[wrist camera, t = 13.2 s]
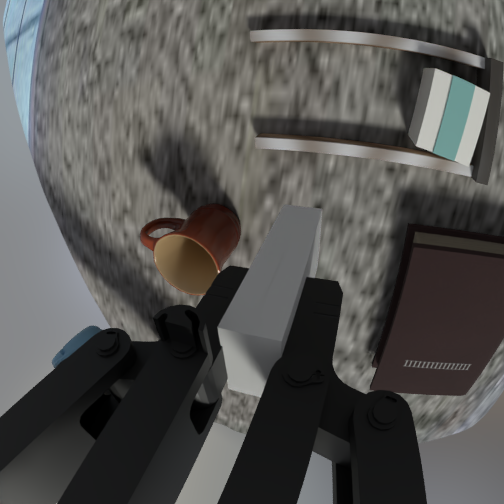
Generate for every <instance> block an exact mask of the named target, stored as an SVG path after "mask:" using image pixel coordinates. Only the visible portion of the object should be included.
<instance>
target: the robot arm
mask: <svg viewBox="0 0 504 504" xmlns="http://www.w3.org/2000/svg"><path fill="white" fill-rule="evenodd" d="M321 220H322V209H318V208H310V207H301V206H293V205H284V206H283V207H282V209H281V211H280V213H279V215H278V217H277V219H276V220H275V222H274V224H273V226H272V228H271V230H270V232H269V233H268V235H267V237H266V239H265V241H264V243H263V244H262V246H261V248H260V250H259V252H258V254H257V256H256V257H255V259H254V261H253V263H252V265H251V267H250V268H242V267H236V266H229V267H227V268H226V269H224V270H223V271H221V272H220V273H219V274H218V275H217V276H216V278H215V279H214V281H213V282H212V284H211V287H209V289H208V290H207V292H206V294H205V295H204V296H203V298H202V299H201V301H200V302H199V304H198V305H197V307H196V308H194V307H192V306H189V305H175V306H170V307H168V308H165V309H163V310H161V311H160V312H159V313H158V314H156V315H155V316H154V317H153V319H154V322H155V325H156V328H157V330H158V333H159V336H160V338H159V340H158V341H156V342H140V341H131V339H130V336H129V335H128V334H127V333H126V332H125V331H123V330H121V329H118V328H109V329H105V330H101V329H100V328H99V327H97V326H89V327H87V328H85V329H83V330H82V331H81V332H80V333H78V334H77V335H76V336H75V337H73V338H72V339H71V340H70V341H69V342H68V343H67V344H66V345H65V346H64V347H63V349H62V350H60V351H59V352H58V353H57V354H56V356H55V357H54V358H53V360H52V364H53V366H54V368H55V369H54V370H53V371H52V372H51V373H49V374H48V375H47V376H46V377H45V378H44V379H43V380H41V381H40V382H39V383H38V384H37V385H36V386H35V387H33V389H31V390H30V391H29V392H28V393H27V394H26V395H24V397H22V398H21V399H20V400H19V401H18V402H17V403H16V404H14V405H13V406H12V407H11V408H10V409H9V410H8V411H7V412H6V413H5V414H4V415H2V416H1V417H0V504H56V503H57V502H58V503H57V504H175V502H176V500H177V498H178V496H179V494H180V492H181V490H182V488H183V486H184V484H185V482H186V480H187V478H188V476H189V474H190V471H191V469H192V467H193V465H194V463H195V461H196V459H197V457H198V454H199V452H200V450H201V448H202V446H203V444H204V442H205V440H206V437H207V435H208V433H209V431H210V429H211V427H212V425H213V422H214V420H215V418H216V416H217V414H218V411H219V409H220V407H221V404H222V395H221V392H222V390H223V387H224V385H225V383H226V381H227V383H228V388H229V389H230V390H234V391H238V392H242V393H246V394H250V395H254V396H258V397H261V398H260V401H259V403H258V406H257V409H256V411H255V414H254V416H253V419H252V422H251V424H250V427H249V429H248V432H247V434H246V437H245V440H244V442H243V445H242V447H241V449H240V452H239V454H238V457H237V459H236V461H235V464H234V467H233V469H232V471H231V473H230V476H229V478H228V481H227V483H226V485H225V488H224V490H223V492H222V494H221V497H220V499H219V501H218V503H217V504H297V501H298V498H299V494H300V491H301V488H302V485H303V481H304V478H305V475H306V471H307V468H308V464H309V461H310V457H311V454H312V451H314V452H316V453H317V454H319V455H321V456H323V457H325V458H327V459H329V460H331V461H332V473H333V474H332V475H333V476H332V477H333V504H427V501H426V493H425V485H424V478H423V471H422V464H421V458H420V453H419V447H418V442H417V436H416V431H415V426H414V421H413V417H412V412H411V410H410V407H409V405H408V403H407V402H406V401H405V400H404V399H403V398H402V397H401V396H400V395H398V394H396V393H394V392H392V391H387V390H376V391H373V392H369V393H367V394H364V393H362V392H360V391H358V390H355V389H353V388H351V387H349V386H348V385H346V384H345V383H343V382H342V381H341V380H340V379H339V378H338V376H337V375H336V373H335V371H334V368H333V365H332V360H333V353H334V347H335V341H336V336H337V330H338V324H339V317H340V311H341V304H342V297H343V292H342V290H341V287H340V285H339V283H338V281H331V280H325V279H318V278H315V275H316V271H317V266H318V256H319V245H320V233H321Z"/></svg>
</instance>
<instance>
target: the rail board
mask: <svg viewBox="0 0 504 504" xmlns="http://www.w3.org/2000/svg"><path fill="white" fill-rule="evenodd" d="M250 36H251V42H257V43H260V42H325V43H342V44H354V45H364V46H373V47H381V48H388V49H395V50H401V51H407V52H413V53H418V54H423V55H428V56H433V57H437V58H441V59H446V60H450V61H454V62H457V63H461V64H465V65H468V66H472V67H475V68H477V84H476V86H477V87H479V88H481V89H483V90H485V91H487V92H489V93H490V97H489V101H488V105H487V109H486V112H485V116H484V120H483V123H482V127H481V130H480V134H479V137H478V140H477V143H476V147H475V150H474V153H473V156H472V159H471V162H470V165H469V167H468V166H465V165H463V164H461V163H458V162H456V161H452V160H450V159H447V158H445V157H442V156H439V155H437V154H434V153H431V152H426V151H420V150H415V149H409V148H403V147H397V146H390V145H384V144H377V143H369V142H362V141H354V140H345V139H335V138H325V137H313V136H300V135H285V134H264V133H261V134H259V135H258V136H257V137H255V148H263V149H280V150H294V151H306V152H317V153H328V154H337V155H346V156H354V157H362V158H370V159H377V160H384V161H390V162H397V163H403V164H409V165H415V166H420V167H426V168H431V169H436V170H441V171H446V172H451V173H456V174H461V175H465V176H469V177H472V178H473V179H474V180H475V182H477V183H481V184H485V185H488V180H489V176H490V171H491V166H492V161H493V156H494V150H495V145H496V138H497V132H498V125H499V117H500V108H501V97H502V83H503V62H501V61H498V60H495V59H492V58H484V57H481V56H477V55H474V54H471V53H467V52H464V51H460V50H457V49H453V48H449V47H445V46H441V45H436V44H432V43H427V42H423V41H417V40H412V39H407V38H401V37H394V36H388V35H380V34H372V33H363V32H352V31H339V30H317V29H278V30H257V31H250Z"/></svg>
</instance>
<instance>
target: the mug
mask: <svg viewBox="0 0 504 504" xmlns="http://www.w3.org/2000/svg"><path fill="white" fill-rule="evenodd" d="M161 228H170V229H173V230H175V231H173V232H170V233H168V234H165V235H163V236H162V237H160V238H153V237H150V236H148V235H149V234H151V233H152V232H153V231H155V230H157V229H161ZM240 235H241V226H240V223H239V220H238V218H237V217H236V215H235V214H234V213H233V212H232V211H231V210H230V209H228V208H226V207H225V206H222V205H219V204H207V205H204V206H201V207H200V208H198V209H197V210H195V211H194V212H193V213H191V215H190V216H189V217H188V218H187V219H180V218H159V219H155V220H153V221H151V222H149V223H148V224H146V225H145V226H144V227H143V228H142V230H141V233H140V240H141V242H142V244H143V245H144V246H146V247H148V248H149V249H151V250H152V251H153V255H154V262H155V264H156V266H157V268H158V270H159V272H160V273H161V275H162V276H163V277H164V278H165V280H166V281H167V282H169V283H170V284H171V285H172V286H174V287H175V288H177V289H178V290H180V291H182V292H185V293H187V294H191V295H205V294H206V292H207V290H208V289H209V287H211V284H212V282H213V281H214V279H215V278H216V276H217V275H218V274H219V273H220V272H221V270H222V266H223V265H224V263H225V262H226V260H227V259H228V258H229V256H230V255H231V254H232V252H233V251H234V250H235V248H236V247H237V244H238V242H239V239H240Z"/></svg>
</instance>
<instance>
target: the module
mask: <svg viewBox="0 0 504 504" xmlns="http://www.w3.org/2000/svg"><path fill="white" fill-rule="evenodd" d="M489 97H490V93H489V92H487V91H485V90H483V89H481V88H479V87H477V86H476V85H474V84H472V83H470V82H467V81H465V80H463V79H461V78H459V77H456V76H454V75H451V74H448V73H446V72H443V71H441V70H439V69H436V68H424V69H423V74H422V79H421V83H420V88H419V92H418V97H417V101H416V105H415V109H414V113H413V117H412V121H411V125H410V128H409V132H408V136H409V137H410V138H411V140H412V141H413V143H414V144H415V146H417V147H420V148H422V149H425V150H428V151H431V152H433V153H434V154H437V155H439V156H442V157H445V158H447V159H450V160H452V161H456V162H458V163H461V164H463V165H465V166H468V167H469V165H470V162H471V159H472V156H473V153H474V150H475V147H476V143H477V140H478V137H479V134H480V130H481V127H482V123H483V120H484V116H485V112H486V109H487V105H488V101H489Z"/></svg>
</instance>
